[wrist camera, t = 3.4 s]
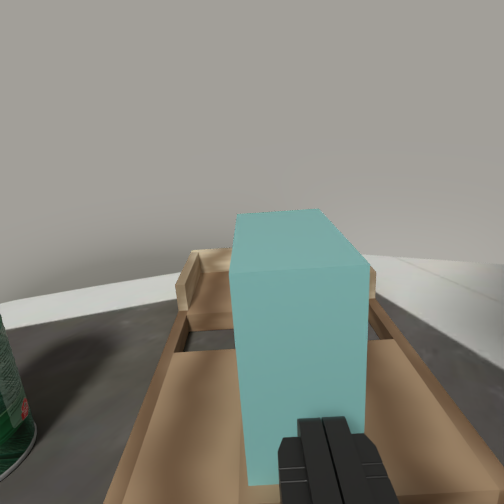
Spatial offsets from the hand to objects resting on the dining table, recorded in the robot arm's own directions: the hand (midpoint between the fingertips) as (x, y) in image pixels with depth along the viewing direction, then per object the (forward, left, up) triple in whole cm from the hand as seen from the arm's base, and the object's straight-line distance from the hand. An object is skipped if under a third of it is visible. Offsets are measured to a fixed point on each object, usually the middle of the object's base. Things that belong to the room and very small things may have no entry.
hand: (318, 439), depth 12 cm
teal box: (0, -11, -8) cm, 14 cm away
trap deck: (0, -21, -10) cm, 24 cm away
